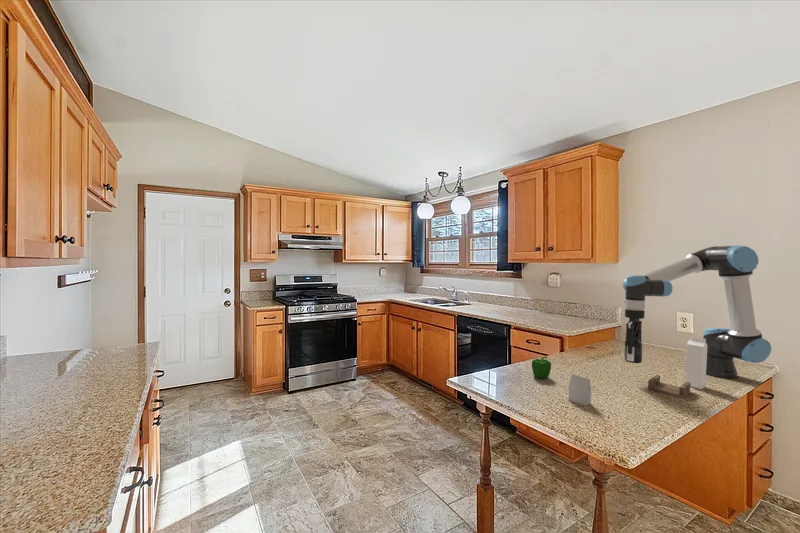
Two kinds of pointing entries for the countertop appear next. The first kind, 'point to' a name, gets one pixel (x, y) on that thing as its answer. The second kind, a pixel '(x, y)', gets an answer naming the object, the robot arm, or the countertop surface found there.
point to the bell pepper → (541, 367)
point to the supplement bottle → (635, 351)
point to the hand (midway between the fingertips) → (633, 359)
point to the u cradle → (668, 387)
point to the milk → (696, 362)
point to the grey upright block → (580, 390)
